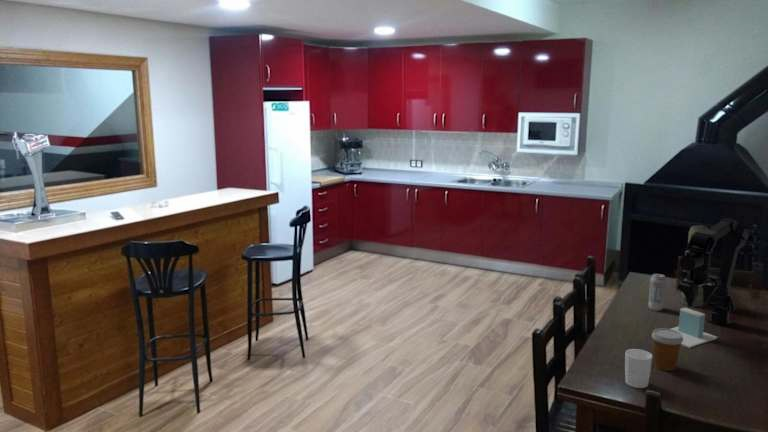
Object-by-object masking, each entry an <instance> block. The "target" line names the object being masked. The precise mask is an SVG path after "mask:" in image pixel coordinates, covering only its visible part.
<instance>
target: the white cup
mask: <svg viewBox="0 0 768 432" xmlns="http://www.w3.org/2000/svg"><path fill="white" fill-rule="evenodd" d="M653 358H654V355H653V354H652V353H651V352H649V351H647V350H644V349H639V348H630V349H629V348H628V349H627V350H625V353H624V374H625V378H624V381H625V384H626V385H628V386H630V387H632V388H637V389H644V388H647V387H648V386H649V383H650V382H649V381H650V377H651V370H652V365H653V364H652V363H653Z"/></svg>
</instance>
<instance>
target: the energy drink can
mask: <svg viewBox="0 0 768 432" xmlns="http://www.w3.org/2000/svg"><path fill="white" fill-rule="evenodd" d="M665 276H666V275H664V274H660V273H653V274H652V276H651V277H650V279H649V291H648V292H649V293H648V305H647V307H648V308H649V309H650V310H652V311H655V312H656V311H657V312H661V311H662V310H663V309H665V298H666V297H665V296H666V285H667V284H666V282H667V279H666V277H665Z"/></svg>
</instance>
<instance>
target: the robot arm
mask: <svg viewBox="0 0 768 432" xmlns="http://www.w3.org/2000/svg"><path fill="white" fill-rule="evenodd" d="M707 229H708V230H701V231H697V232H695V233H694V234H693V235H692V236H691V239H690V241H689V243H688V242H687V246H686V248H685V252H686V250H687V251H690V252H686V255H685V254H684V255H682V256H681V258H680V260H679V265H680V267H681V269H680V268H679V269H676V270H675V271H674V277H675V278H676V279H677V280H678V281H679V282H678V283H677V284H676V289H677V290H679V291H680V292H681V293H682V292H683V293H684V295H685V297H686V300H687V304H688V306H687V308H689V309H691V308H693V307H692V306H693V304H694V301H695V299H696V296H697V294H698V292H697V291H698V286H702V287H703V304H704V303H705V304H707V307H711V308H712V309H711V311H712V312H711V318H709V319H707V322H709V323H712V324H715V325H717V326H718V325H719V326H720V327H721V326H722V327H724V326H728V325H731V324H732V323H733V322H732V321H730V320H729V315H730V312H735V310H736V307H737V306H736V305H737V304H736V302H735V300H734V298H733V296H734V295H733V294H734V292H733V290H732V287H731V284H732V280H733V276H734V271H735V267H736V263H737V258H738V256H739V251H740V250H741V249H742V248H743V247H744V246H746V244H747V240H748V239H749V237H750V236H749V235H750V233H749V230H747V228H746V227H744V226H743V225H741V224H740V223H738V222H737V221H736V220H733V219H727V218H724V219H723V218H722V219H720V221H719V222H718V223H716V224H714V225H713V226H711V227H710V228H707ZM721 238H722V239H721ZM719 239H721V241H722V242H723V245H724V249H723V250H724V251H723V255H722V257H721V262H720V265H719V266H720V267H719V271H718V275H712V274H710V273H711V272H713V269H712V268H711V267H710V266H711V258H712V256H711V255H712V254H713V253H714V251H713V250H714V248H715V247H716V246H717V241H718V240H719ZM692 246H694V247H692ZM696 247H699V248H696ZM684 279H687V280H688V281H692V282H688V281H684ZM682 280H683V281H682Z"/></svg>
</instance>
